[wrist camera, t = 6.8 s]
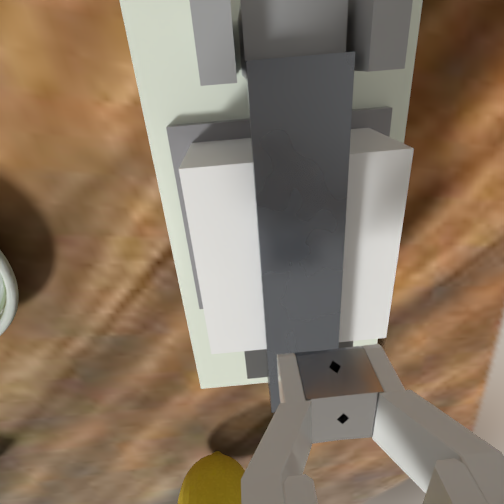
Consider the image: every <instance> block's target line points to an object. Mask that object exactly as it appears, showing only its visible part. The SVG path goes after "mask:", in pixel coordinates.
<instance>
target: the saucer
mask: <svg viewBox="0 0 504 504" xmlns="http://www.w3.org/2000/svg"><path fill="white" fill-rule="evenodd" d="M18 296H19V294H18V286H17V281H16V278H15V275H14V272H13V270H12V268H11V266H10V264H9V262H8V260H7V259H6V257H5V256H4V254H3V253H2V252H1V250H0V335H1V334H2V333H3V332H4V331H5V330H6V329H7V328H8V327H9V325H10V324H11V322H12V321H13V319H14V317H15V314H16V311H17V308H18V302H19V300H18Z"/></svg>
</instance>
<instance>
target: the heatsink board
mask: <svg viewBox="0 0 504 504" xmlns="http://www.w3.org/2000/svg"><path fill="white" fill-rule="evenodd" d="M422 2H423V0H120V5H121V10H122V15H123V20H124V24H125V29H126V34H127V39H128V43H129V48H130V53H131V58H132V62H133V67H134V72H135V77H136V81H137V86H138V91H139V96H140V100H141V105H142V110H143V115H144V119H145V124H146V129H147V134H148V138H149V143H150V148H151V153H152V157H153V162H154V167H155V172H156V176H157V181H158V186H159V191H160V195H161V200H162V205H163V210H164V214H165V219H166V224H167V229H168V234H169V238H170V243H171V248H172V253H173V257H174V262H175V267H176V272H177V276H178V281H179V286H180V291H181V295H182V300H183V305H184V310H185V314H186V319H187V324H188V329H189V333H190V338H191V343H192V348H193V352H194V357H195V362H196V367H197V371H198V376H199V381H200V386H201V389H204V388H214V387H225V386H235V385H246V384H256V383H267V382H268V364H267V351H266V337H265V323H264V310H263V296H262V283H261V269H260V255H259V242H258V228H257V215H256V201H255V187H254V174H253V160H252V147H251V133H250V119H249V106H248V92H247V79H246V65H245V61H248V60H260V59H272V58H284V57H296V56H308V55H320V54H331V53H343V52H355V67H354V84H353V102H352V120H351V137H350V155H349V172H348V190H347V207H346V225H345V243H344V260H343V278H342V295H341V313H340V330H339V348H346V347H354V346H364V345H373V344H377V342H378V339H379V338H386V335H387V328H388V321H389V314H390V308H391V301H392V294H393V287H394V280H395V274H396V267H397V260H398V253H399V247H400V240H401V233H402V226H403V219H404V213H405V206H406V199H407V192H408V185H409V179H410V172H411V165H412V158H413V151H414V148H412V147H410V146H408V145H406V144H404V138H405V131H406V123H407V116H408V108H409V100H410V93H411V85H412V78H413V70H414V63H415V55H416V48H417V40H418V33H419V25H420V17H421V10H422Z"/></svg>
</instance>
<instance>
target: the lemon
mask: <svg viewBox="0 0 504 504" xmlns="http://www.w3.org/2000/svg"><path fill="white" fill-rule="evenodd" d="M244 472H245V471H244V469H243V468H242V466H241V465H240V464H239V463H238V462H237V461H236V460H234V459H233V458H231V457H229V456H227V455H223V454H222V453H221V452H220V451H215V452H214V453H213V454H211V455H208V456H206V457H204V458H202V459H200V460H199V461H198V462H196V463H195V464H194V465H193V466H192V468H191V469H190V470H189V472H188V473H187V475H186V477H185V479H184V481H183V484H182V487H181V490H180V494H179V499H178V504H241V478H242V476H243V474H244Z"/></svg>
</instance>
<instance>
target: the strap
mask: <svg viewBox="0 0 504 504" xmlns="http://www.w3.org/2000/svg"><path fill="white" fill-rule="evenodd" d="M245 65H246V79H247V92H248V106H249V119H250V133H251V147H252V160H253V174H254V187H255V201H256V215H257V228H258V242H259V255H260V269H261V283H262V296H263V310H264V323H265V337H266V351H267V364H268V386H269V394H270V403H271V411H272V413H273V412H276V410H277V408H278V406H279V404H280V395H279V384H278V369H277V354H287V353H296V352H308V351H321V350H328V349H337V348H339V330H340V313H341V295H342V278H343V260H344V243H345V225H346V207H347V190H348V172H349V155H350V137H351V120H352V102H353V84H354V67H355V52H343V53H331V54H320V55H308V56H296V57H284V58H272V59H260V60H248V61H245Z"/></svg>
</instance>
